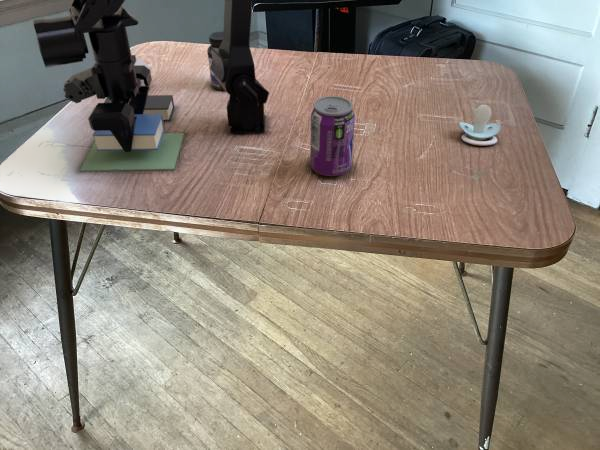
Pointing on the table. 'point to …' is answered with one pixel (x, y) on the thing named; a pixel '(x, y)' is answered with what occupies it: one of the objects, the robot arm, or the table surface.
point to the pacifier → (480, 128)
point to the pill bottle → (215, 42)
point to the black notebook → (158, 105)
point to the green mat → (136, 157)
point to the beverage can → (332, 135)
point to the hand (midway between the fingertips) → (132, 140)
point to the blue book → (135, 134)
